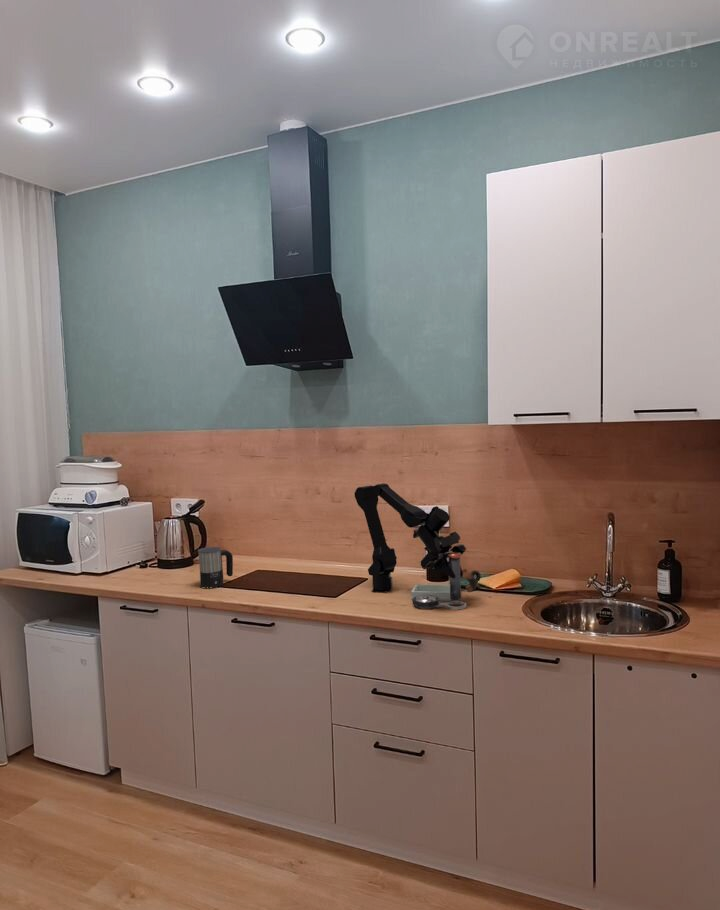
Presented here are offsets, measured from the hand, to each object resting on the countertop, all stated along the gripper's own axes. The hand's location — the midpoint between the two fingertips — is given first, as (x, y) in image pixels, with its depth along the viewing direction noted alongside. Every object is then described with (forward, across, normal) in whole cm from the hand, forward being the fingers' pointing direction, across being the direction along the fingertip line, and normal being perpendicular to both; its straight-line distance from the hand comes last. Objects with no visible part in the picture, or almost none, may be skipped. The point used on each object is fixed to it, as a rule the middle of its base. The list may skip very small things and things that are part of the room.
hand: (458, 576), depth 221 cm
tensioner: (+3, -3, +12) cm, 12 cm away
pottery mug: (-1, +20, +16) cm, 26 cm away
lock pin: (+4, 0, +6) cm, 8 cm away
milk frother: (-62, -34, +77) cm, 105 cm away
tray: (-2, +5, +17) cm, 18 cm away
